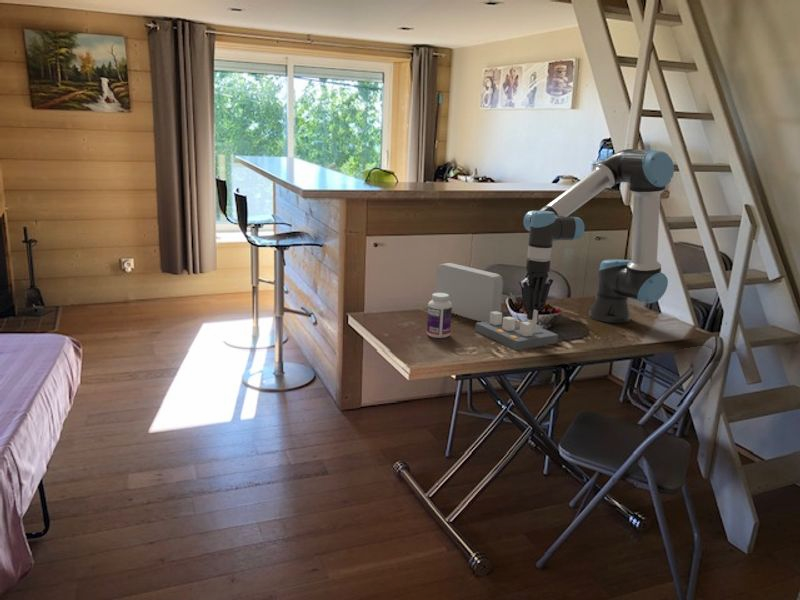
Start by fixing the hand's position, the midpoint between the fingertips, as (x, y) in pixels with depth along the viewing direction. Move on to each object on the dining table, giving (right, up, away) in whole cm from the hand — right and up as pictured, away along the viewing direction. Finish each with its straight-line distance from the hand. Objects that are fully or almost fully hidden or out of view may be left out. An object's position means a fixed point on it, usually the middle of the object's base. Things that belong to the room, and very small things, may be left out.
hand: (531, 328), depth 210 cm
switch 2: (-2, -2, -1) cm, 3 cm away
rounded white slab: (-19, +4, +31) cm, 36 cm away
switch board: (-4, -3, +7) cm, 9 cm away
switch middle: (-7, -1, +4) cm, 8 cm away
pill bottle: (-31, -3, +5) cm, 31 cm away
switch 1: (-11, +1, +10) cm, 15 cm away
